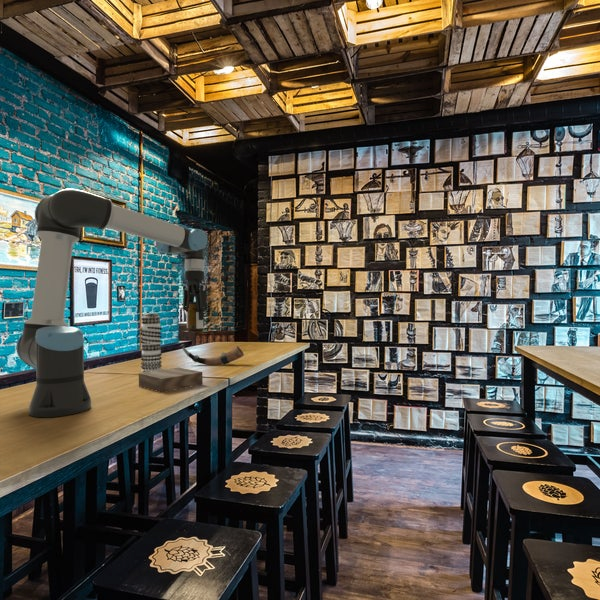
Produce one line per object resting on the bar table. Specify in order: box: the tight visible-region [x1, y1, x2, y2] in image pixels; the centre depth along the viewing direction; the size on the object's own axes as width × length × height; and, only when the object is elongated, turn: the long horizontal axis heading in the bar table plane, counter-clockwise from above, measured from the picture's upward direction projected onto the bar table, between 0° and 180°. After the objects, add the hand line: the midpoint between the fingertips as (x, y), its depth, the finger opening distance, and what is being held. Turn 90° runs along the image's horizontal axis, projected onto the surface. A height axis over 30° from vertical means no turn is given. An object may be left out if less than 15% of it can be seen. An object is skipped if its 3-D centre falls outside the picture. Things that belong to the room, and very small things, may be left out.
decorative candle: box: [139, 312, 163, 373], centre depth 182 cm, size 9×9×25 cm
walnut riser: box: [138, 367, 204, 393], centre depth 149 cm, size 16×16×5 cm
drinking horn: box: [179, 343, 245, 366], centre depth 194 cm, size 6×30×10 cm, turn 90°
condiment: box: [184, 301, 209, 333], centre depth 166 cm, size 7×8×12 cm
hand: (194, 327), depth 166 cm, fingers closed on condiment, 6 cm apart
